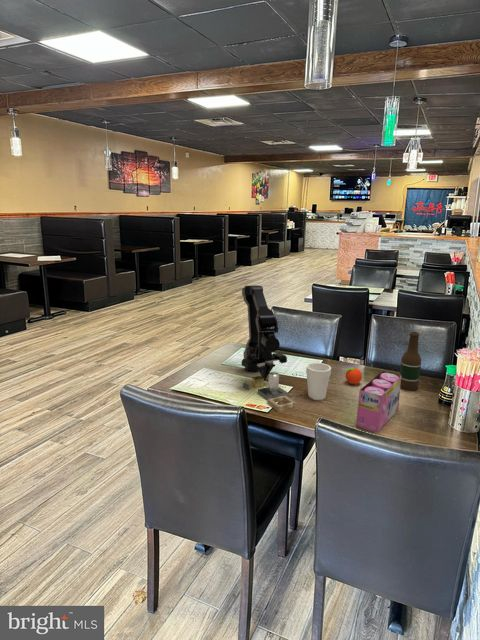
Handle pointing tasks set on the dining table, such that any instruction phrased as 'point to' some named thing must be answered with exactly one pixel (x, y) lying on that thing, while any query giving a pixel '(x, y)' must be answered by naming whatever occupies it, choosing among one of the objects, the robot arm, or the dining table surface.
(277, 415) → the dining table surface
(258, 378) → the translucent yellowish block
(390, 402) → the gum box
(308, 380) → the foam cup
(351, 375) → the clementine
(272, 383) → the drill peg
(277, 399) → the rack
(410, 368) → the beer bottle
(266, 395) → the socket plate
